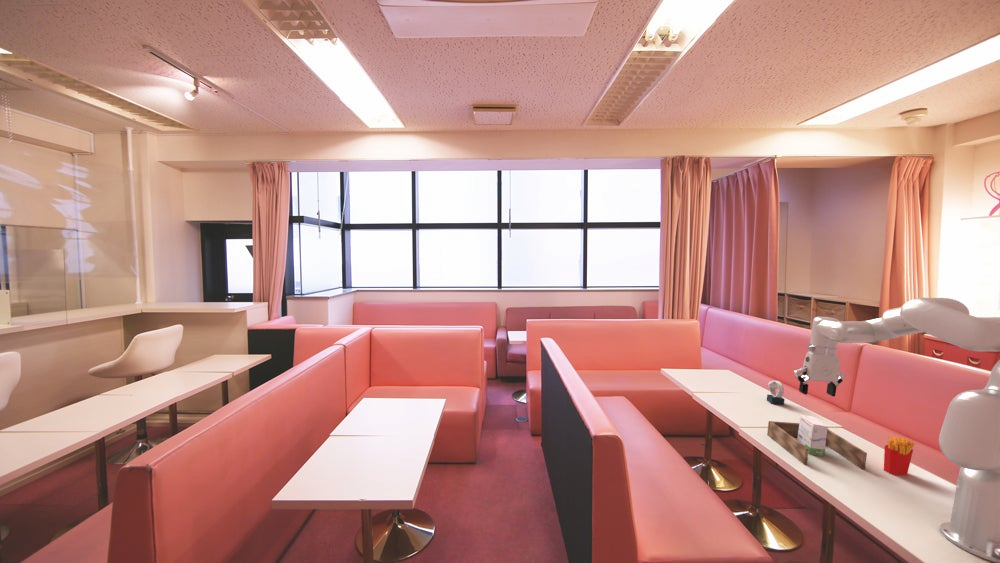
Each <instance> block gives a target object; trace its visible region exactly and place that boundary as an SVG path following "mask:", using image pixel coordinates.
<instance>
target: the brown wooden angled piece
mask: <svg viewBox="0 0 1000 563" xmlns="http://www.w3.org/2000/svg"><path fill="white" fill-rule="evenodd" d="M767 425H768V426H767V434H766V436H768V437H769V438H770V439H771V440H772V441H774V442H775V443H776V444H778V445H779V446H781V447H782V448H783V449H784V450H785V451H786V452H787V453H789V454H790V455H791V456H793V457H794V458H795V459H796V460H798V462H800V463H801V464H803V465H808V458H809V453H808V451H809V448H807V447H806V446H804V445H803V444H802V443H800V442H799V441H798V440H797V438H798V430H799V422H786V421H774V420H773V421H772V420H771V421H770V420H769V421H768V424H767ZM825 446H827V447H828V448H830V449H831V450H833V451H834V452H836V453H837V454H839V455H841V457H843V458H845V459H846V460H847V461H849V462H850V463H852V464H853V465H855V466H856V467H857V468H859V469H861V470H866V463H867V455H868V453H867V451H865V450H864V449H863V450H862V449H861V448H859V447H858V446H856V445H855V444H853V443H851V442H850V441H848V440H847V439H845V438H843V437H841V436H840V435H838V434H836V433H835V432H834V431H831V430H830V429H829V428H828V429H827V437H826V445H825Z"/></svg>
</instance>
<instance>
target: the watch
mask: <svg viewBox="0 0 1000 563" xmlns="http://www.w3.org/2000/svg"><path fill="white" fill-rule="evenodd" d="M767 385H768V390H769V392H770V394H767V396H766V402H768V403H769V404H772V405H779V406H784V405H785V400H786V399H785V398H784V397H783V395H784V393H785V392H784V391H785V389H784V385H783V383H782V382H781V381H779V380H771V381H769V382H768V383H767ZM777 389H778V391H777V392H776V390H777Z"/></svg>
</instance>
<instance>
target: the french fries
mask: <svg viewBox="0 0 1000 563" xmlns="http://www.w3.org/2000/svg"><path fill="white" fill-rule="evenodd" d="M914 446H915V442H914V441H911V440H910V439H908V438H905V437H899V436H893V437H888V439H887V444H885V445H884V454H883V455H884V456H883V457H884V458H883V471H884V472H886V473H888V474H891V475H894V476H908V473H909V470H910V469H909V468H910V464H911V461H912V460H911V459H912V457H913V452H914V449H913V448H914Z"/></svg>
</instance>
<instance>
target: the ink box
mask: <svg viewBox="0 0 1000 563" xmlns="http://www.w3.org/2000/svg"><path fill="white" fill-rule="evenodd" d="M798 423H799V430H798V438H796V440H798V441H799V442H800V443H802V444H803V445H804V446H806V447H807V448H809V451H808V455H812V456H819V457H824V456H825V451H826V446H827V445H826V437H827V429H829V427H828V426H827V425H826V424H825V423H824V422H822V421H820V420H819V419H818V418H816V417H815V416H812V415H811V416H810V415H804V414H800V415H799V422H798Z"/></svg>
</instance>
